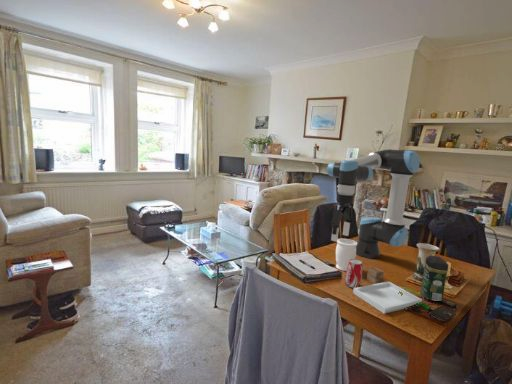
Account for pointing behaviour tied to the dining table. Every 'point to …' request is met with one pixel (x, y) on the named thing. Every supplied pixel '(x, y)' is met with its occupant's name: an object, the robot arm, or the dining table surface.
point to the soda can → (354, 273)
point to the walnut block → (375, 275)
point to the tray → (386, 296)
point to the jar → (345, 252)
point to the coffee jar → (434, 278)
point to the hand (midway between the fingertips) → (340, 238)
